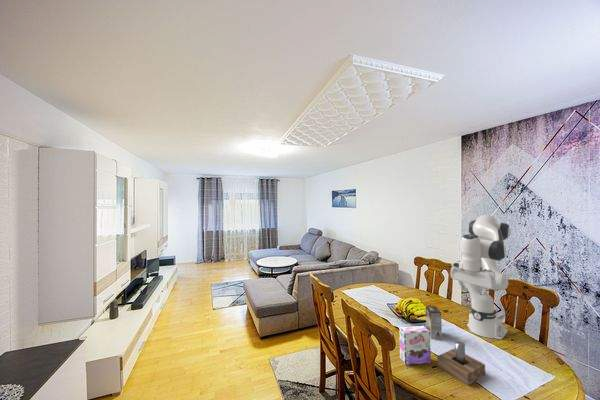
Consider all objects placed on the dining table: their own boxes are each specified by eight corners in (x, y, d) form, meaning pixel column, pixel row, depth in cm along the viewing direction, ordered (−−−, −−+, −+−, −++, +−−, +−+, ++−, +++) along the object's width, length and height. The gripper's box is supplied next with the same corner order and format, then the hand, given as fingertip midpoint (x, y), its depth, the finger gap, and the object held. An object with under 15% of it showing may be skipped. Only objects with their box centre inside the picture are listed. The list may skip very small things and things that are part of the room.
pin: (458, 364, 116) (457, 340, 116) (467, 369, 112) (466, 344, 112) (453, 367, 114) (452, 342, 114) (462, 372, 110) (461, 346, 111)
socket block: (454, 358, 122) (454, 348, 122) (485, 375, 110) (485, 364, 110) (437, 366, 116) (437, 356, 116) (467, 385, 104) (467, 374, 104)
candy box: (405, 365, 117) (404, 332, 118) (399, 358, 123) (398, 326, 124) (431, 363, 118) (430, 330, 119) (424, 356, 124) (423, 325, 125)
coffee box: (426, 330, 149) (425, 305, 150) (436, 331, 148) (436, 306, 148) (431, 338, 140) (430, 311, 141) (442, 339, 139) (441, 312, 139)
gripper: (498, 269, 115) (499, 298, 115) (455, 261, 133) (456, 285, 133) (491, 271, 112) (492, 300, 112) (448, 262, 131) (449, 287, 130)
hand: (472, 292), depth 123 cm, fingers open, 8 cm apart
